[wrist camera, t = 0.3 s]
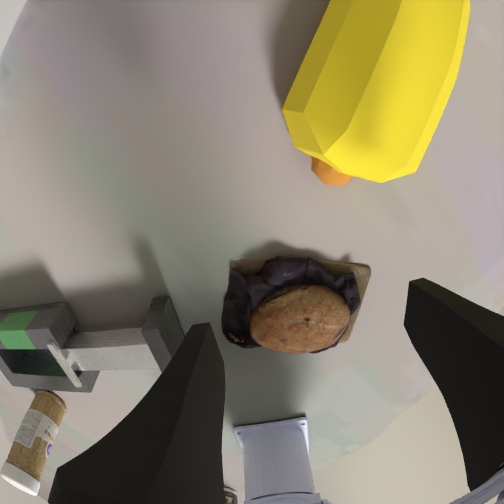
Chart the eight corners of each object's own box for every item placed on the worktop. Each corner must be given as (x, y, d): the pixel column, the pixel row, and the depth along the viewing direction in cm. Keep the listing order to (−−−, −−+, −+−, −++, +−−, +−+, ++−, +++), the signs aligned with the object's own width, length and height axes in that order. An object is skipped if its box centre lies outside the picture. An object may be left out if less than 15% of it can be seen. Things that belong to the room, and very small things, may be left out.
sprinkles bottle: (71, 414, 28) (43, 501, 16) (43, 405, 28) (11, 485, 16) (60, 393, 27) (24, 487, 14) (31, 383, 26) (-8, 469, 14)
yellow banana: (259, 154, 17) (366, 200, 19) (272, 176, 11) (417, 240, 13) (353, -58, 10) (443, -3, 12) (393, -102, 4) (500, -21, 6)
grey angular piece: (191, 355, 23) (187, 390, 20) (90, 362, 24) (77, 391, 20) (168, 295, 21) (157, 329, 17) (60, 310, 21) (41, 338, 18)
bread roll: (371, 257, 21) (393, 282, 18) (342, 342, 25) (355, 372, 22) (228, 244, 20) (227, 271, 17) (220, 339, 24) (219, 373, 20)
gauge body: (102, 364, 24) (91, 392, 21) (25, 363, 24) (12, 385, 21) (67, 301, 21) (48, 328, 18) (-8, 311, 21) (-25, 332, 18)
